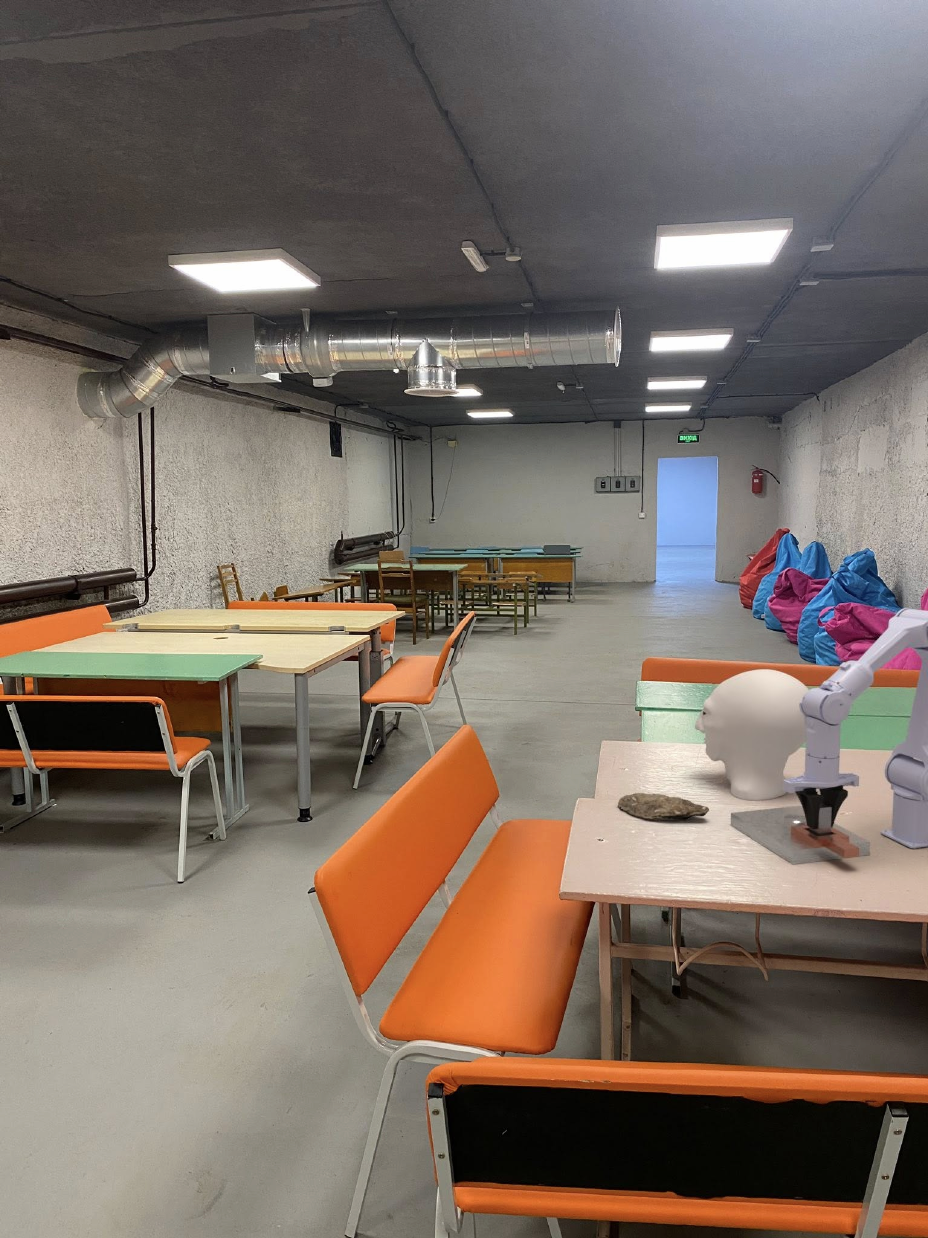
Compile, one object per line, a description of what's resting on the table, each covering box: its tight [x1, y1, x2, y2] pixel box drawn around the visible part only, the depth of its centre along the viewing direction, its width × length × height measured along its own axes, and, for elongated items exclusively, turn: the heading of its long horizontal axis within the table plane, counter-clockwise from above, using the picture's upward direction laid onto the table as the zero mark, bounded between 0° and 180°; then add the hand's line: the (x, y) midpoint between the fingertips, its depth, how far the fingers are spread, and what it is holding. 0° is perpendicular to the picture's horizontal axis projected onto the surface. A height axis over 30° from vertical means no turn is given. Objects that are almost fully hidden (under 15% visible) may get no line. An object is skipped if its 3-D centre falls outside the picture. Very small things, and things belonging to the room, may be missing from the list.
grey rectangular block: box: [809, 803, 832, 836], centre depth 147 cm, size 3×3×9 cm
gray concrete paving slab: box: [730, 805, 871, 865], centre depth 151 cm, size 16×25×4 cm, turn 13°
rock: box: [617, 792, 710, 821], centre depth 168 cm, size 18×11×4 cm, turn 76°
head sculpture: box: [694, 668, 810, 801], centre depth 183 cm, size 17×27×28 cm, turn 52°
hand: (819, 826), depth 147 cm, fingers open, 3 cm apart
